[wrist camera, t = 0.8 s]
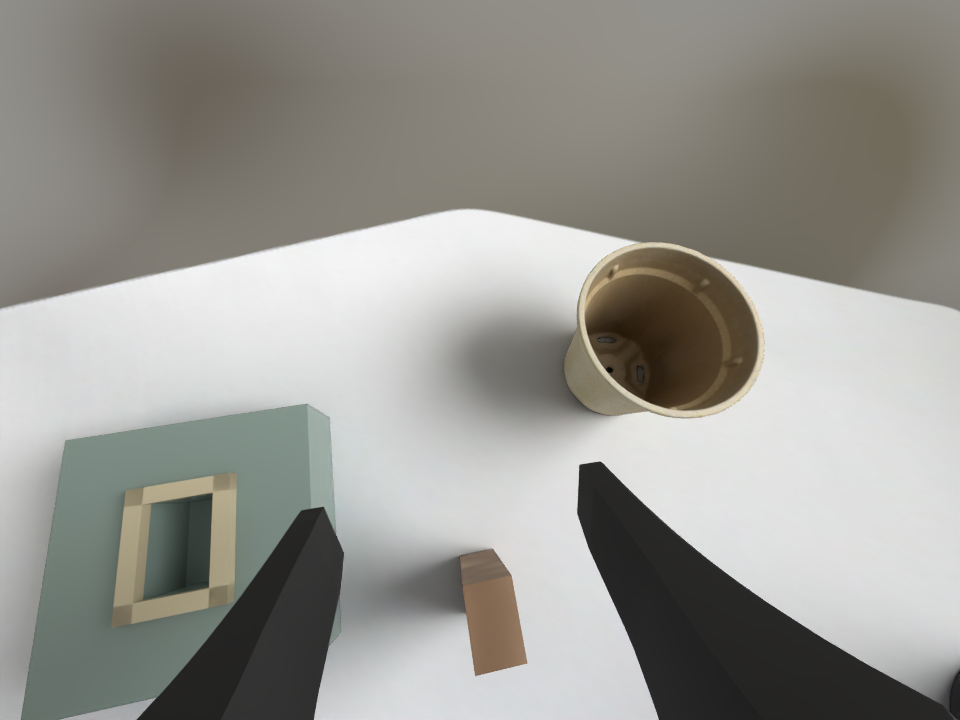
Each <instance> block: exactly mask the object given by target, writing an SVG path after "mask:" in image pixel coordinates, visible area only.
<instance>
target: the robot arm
mask: <svg viewBox="0 0 960 720" xmlns="http://www.w3.org/2000/svg"><path fill="white" fill-rule="evenodd" d="M577 514H578V517H579V520H580V523H581V526H582V529H583V532H584V535H585V538H586V541H587V544H588V547H589V550H590V552H591V554H592V556H593V559H594V561H595V563H596V565H597V568H598V570H599V572H600V574H601V576H602V579H603V581H604V583H605V585H606V587H607V590H608V592H609V594H610V596H611V598H612V601H613V603H614V605H615V607H616V609H617V611H618V614H619V616H620V618H621V620H622V622H623V625H624V627H625V629H626V631H627V634H628V636H629V638H630V641H631V643H632V646H633V648H634V650H635V653H636V656H637V659H638V661H639V664H640V667H641V670H642V672H643V675H644V678H645V681H646V683H647V686H648V689H649V692H650V695H651V697H652V700H653V703H654V706H655V709H656V712H657V715H658V718H659V720H957V719H956V718H955V717H954V716H953V715H952V714H951V713H950V712H949V711H948V710H947V709H946V708H945V707H944V706H943V705H941V704H939V703H937V702H935V701H933V700H932V699H930V698H928V697H926V696H924V695H922V694H921V693H919V692H917V691H915V690H913V689H911V688H910V687H908V686H906V685H904V684H902V683H900V682H898V681H897V680H895V679H893V678H891V677H889V676H887V675H886V674H884V673H882V672H880V671H878V670H876V669H875V668H873V667H871V666H869V665H867V664H866V663H864V662H862V661H860V660H859V659H857V658H855V657H854V656H852V655H850V654H848V653H847V652H845V651H843V650H842V649H840V648H838V647H837V646H835V645H833V644H832V643H830V642H828V641H827V640H825V639H823V638H821V637H820V636H818V635H817V634H815V633H814V632H812V631H811V630H809V629H808V628H806V627H804V626H803V625H801V624H800V623H798V622H797V621H795V620H794V619H792V618H790V617H789V616H787V615H786V614H784V613H783V612H781V611H780V610H778V609H776V608H775V607H773V606H772V605H770V604H769V603H767V602H766V601H764V600H763V599H761V598H760V597H759V596H757V595H756V594H754V593H753V592H752V591H750V590H749V589H747V588H746V587H744V586H743V585H742V584H740V583H739V582H737V581H736V580H735V579H733V578H732V577H731V576H729V575H728V574H727V573H725V572H724V571H723V570H721V569H720V568H719V567H717V566H716V565H715V564H713V563H712V562H711V561H710V560H708V559H707V558H706V557H704V556H703V555H702V554H701V553H699V552H698V551H697V550H696V549H695V548H693V547H692V546H691V545H690V544H689V543H687V542H686V541H685V540H684V539H683V538H681V537H680V536H679V535H678V534H677V533H676V532H674V531H673V530H672V529H671V528H670V527H669V526H667V525H666V524H665V523H664V522H663V521H662V520H661V519H660V518H659V517H658V516H656V515H655V514H654V513H653V512H652V511H651V510H650V509H649V508H648V507H647V506H646V505H644V504H643V503H642V502H641V501H640V500H639V499H638V498H637V497H636V496H635V495H634V494H633V493H632V492H631V491H630V490H629V489H628V488H627V487H626V486H625V485H624V484H623V483H622V482H621V481H620V480H619V479H618V478H617V477H616V476H615V475H614V474H613V473H612V472H611V471H610V470H609V469H608V468H607V467H606V466H605V465H604V464H603V463H602V462H594V463H588V464H582V465H579V487H578V509H577ZM343 557H344V552H343V550H342V548H341V545H340V543H339V541H338V538H337V536H336V534H335V531H334V529H333V527H332V524H331V522H330V520H329V517H328V515H327V513H326V510H325V508H324V507H318V508H312V509H306V510H301V511H300V513H299V514H298V515H297V517H296V518H295V519H294V521H293V522H292V524H291V525H290V527H289V528H288V530H287V531H286V533H285V534H284V536H283V537H282V538H281V540H280V541H279V543H278V544H277V546H276V547H275V549H274V550H273V552H272V553H271V554H270V556H269V557H268V559H267V560H266V562H265V563H264V564H263V566H262V567H261V569H260V570H259V571H258V573H257V574H256V576H255V577H254V578H253V580H252V581H251V582H250V584H249V585H248V587H247V588H246V589H245V591H244V592H243V594H242V595H241V596H240V598H239V599H238V600H237V602H236V603H235V604H234V605H233V607H232V608H231V609H230V611H229V612H228V613H227V614H226V616H225V617H224V618H223V620H222V621H221V622H220V623H219V625H218V626H217V627H216V629H215V630H214V631H213V632H212V634H211V635H210V636H209V638H208V639H207V640H206V641H205V642H204V644H203V645H202V646H201V647H200V649H199V650H198V651H197V652H196V653H195V655H194V656H193V657H192V658H191V659H190V661H189V662H188V663H187V664H186V665H185V666H184V668H183V669H182V670H181V671H180V672H179V673H178V674H177V676H176V677H175V678H174V679H173V680H172V681H171V683H170V684H169V685H168V686H167V687H166V688H165V689H164V690H163V692H162V693H161V694H160V695H159V696H158V697H157V698H156V699H155V700H154V701H153V702H152V704H151V705H150V706H149V707H148V708H147V709H146V710H145V711H144V712H143V713H142V714H141V716H140V717H139V718H138V719H137V720H314V714H315V709H316V703H317V698H318V692H319V687H320V683H321V678H322V674H323V669H324V664H325V660H326V655H327V651H328V646H329V642H330V637H331V633H332V628H333V623H334V619H335V614H336V609H337V604H338V600H339V595H340V587H341V578H342V568H343Z"/></svg>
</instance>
